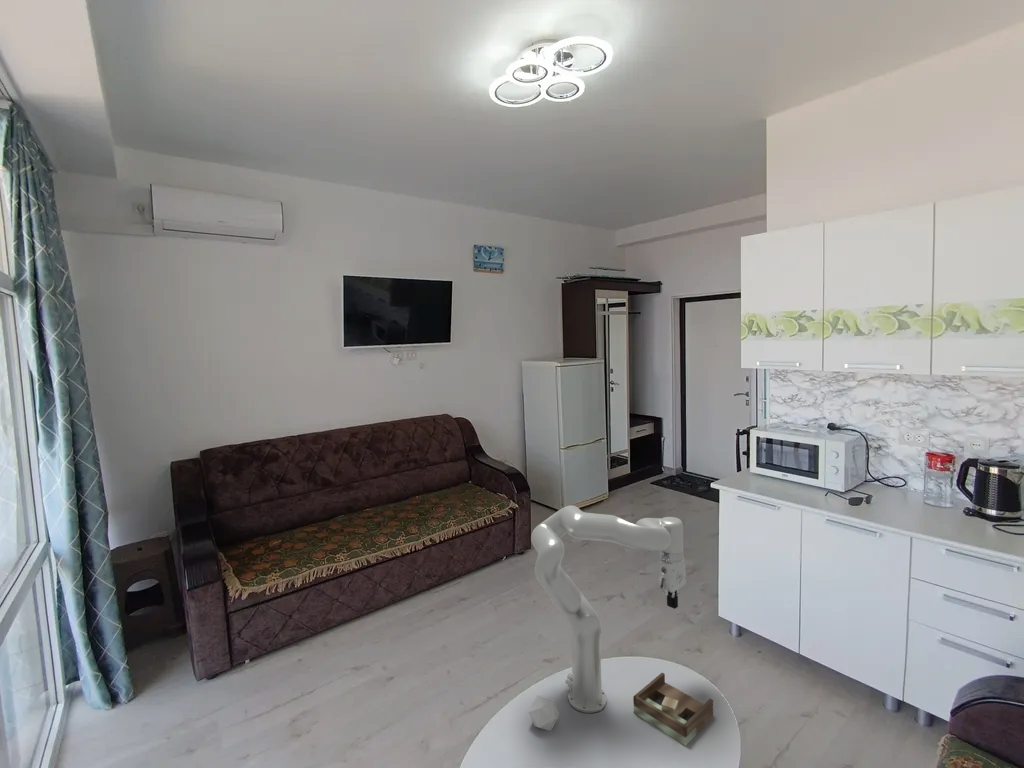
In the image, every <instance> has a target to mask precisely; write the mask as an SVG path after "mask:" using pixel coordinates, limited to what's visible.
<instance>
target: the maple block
mask: <svg viewBox="0 0 1024 768" xmlns="http://www.w3.org/2000/svg"><path fill="white" fill-rule="evenodd" d="M662 711H663V712H665V713H666V714H668V715H670V716H671V717H673V718H674V719H676V718H677V715H678V700H675V699H672V698H669V697H666V696H665V698H664V700H663V702H662Z"/></svg>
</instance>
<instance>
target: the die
mask: <svg viewBox="0 0 1024 768" xmlns="http://www.w3.org/2000/svg"><path fill="white" fill-rule="evenodd" d="M560 714H561V713H560V711H559V709H558V707H557V705H556V703H555V700H554V699H552V698H549V697H548V698H547V697H544V696H540V695H537V696H536V697H535V699H534V701H533V703H532V705H531V707H530V708H529V711H528V715H529V717H530V719H531V721H532V723H533V724H534V727H536V728H539V729H542V730H546V731H550V732H552V730H553V728H554V726H555V724H556V722H557V721H558V718H559V716H560Z"/></svg>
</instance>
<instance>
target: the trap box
mask: <svg viewBox="0 0 1024 768" xmlns="http://www.w3.org/2000/svg"><path fill="white" fill-rule="evenodd" d="M665 674H666V673H663V672H660V674H658V675H657V676H656V677H655V678H653V679H652V680H651V681H650V682H649V683H648V684H646V685H644V687H643V688H641V690H639V691H638V692H636V693H635V694H634V695H633V698H632V700H633V714H635V715H637V716H638V717H640V718H641V719H643V720H645V721H646V722H647V723H650V724H651V725H652V726H654V727H655V728H657V729H659V730H660V731H662V732H663V733H665V734H666V735H668V736H669V737H671V738H673V739H674V740H675V741H678V742H679V743H681V744H682V745H684V746H685V747H686V746H687V745H688V744H689V743H690V742H691V741H692V740H693V739H694V737H696V735H698V733H699V732H701V730H702V729H704V727H705V726H706V725H707V724H708V723H709V722H710V721H711V720H712V718H713V717H714V699H712V698H709V699H708V700H706V702H705V703H703V702H701V701H699V700H697V699H696V698H694V697H692V696H691V695H689V694H686V693H685V692H683V691H681V690H680V689H678V688H676V687H674V686H672V685H671V684H669V683H667V682H666V675H665ZM665 696H666V697H669V698H672V699H675V700H678V715H677V718H676V719H674V718H673V717H671V716H670V715H668V714H666V713H665V712H663V711H662V702H663V700H664V698H665Z"/></svg>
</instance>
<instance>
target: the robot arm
mask: <svg viewBox="0 0 1024 768" xmlns="http://www.w3.org/2000/svg"><path fill="white" fill-rule="evenodd" d="M683 525H684V523H683V521H682V520H681V519H680V518H678V517H676V516H665V517H662V518H660V517H658V518H657V517H644V518H640V519H639V520H637V521H636V523H632V522H629V521H627V520H626V519H623V518H621V517H620V516H616V515H614V514H604V513H595V512H594V513H593V512H585V511H582V510H581V509H580V508H579V507H578V506H576V505H567V506H564V507H562V508H560V509H559V510H557V511H556V512H555V513H553V514H552V515H550V516H549V517H548V518H546V519H544V520H543V521H542V522H541V523H539V524H538V525H537V526H536V527H535V528H534V529H533V530H532V532H531V536H530V541H531V545H532V547H533V548H534V549H535V551H536V552H537V557H536V561H535V565H534V574H535V578H536V580H537V581H538V583H539V584H540V586H541V587H542V588H543V590H544V592H546V594H547V595H548V598H549V599H550V600H551V602H552V604H553V605H554V606H555V608H557V609H558V610H559V611H560V612H561V614H562V615H563V616H564V618H565V620H566V621H567V623H568V625H569V627H570V629H571V631H572V640H571V643H570V644H571V647H570V648H571V650H570V651H571V653H570V654H571V672H569V673H568V674H567V679H565V684H566V685H568V686H569V687H570V690H569V691H568V695H567V696H568V702H569V704H570V706H571V707H572V708H574V709H575V710H577V711H579V712H582V713H585V714H586V713H587V714H591V713H596V712H600V711H601V710H603V709H604V708H605V707H606V705H607V701H608V700H607V695H606V692H605V691H604V689H603V688H602V687H603V686H602V656H601V655H602V654H601V643H602V642H601V640H602V633H603V624H602V620H601V618H600V616H599V614H598V612H597V611H596V610H595V608H594V607H593V606H592V605H591V604H590V602H589V601H588V600H587V597H585V595H584V594H583V593H582V592H581V590H580V589H579V587H578V586H577V585H576V583H575V582H574V581H573V579H572V578H571V576H570V575H569V574H568V573H566V572H565V570H564V569H563V567H562V562H563V559H564V556H565V545H564V542H563V540H562V538H563V537H564V536H565V535H567V534H568V536H569V537H572V538H574V539H576V540H585V541H599V542H607V543H608V542H609V543H614V544H617V545H620V546H623V547H628V548H631V549H636V550H642V551H648V552H649V551H650V552H659V558H660V561H659V573H658V574H659V575H658V583H659V588H660V589H662V590H661V594H662V595H664V596H666V606H667V607H670V608H672V609H677V608H678V607H679V601H678V600H679V594H680V592H679V591H680V588H682V587H684V586H685V585H686V584H687V570H686V562H685V561H686V560H685V557H684V526H683Z"/></svg>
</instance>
